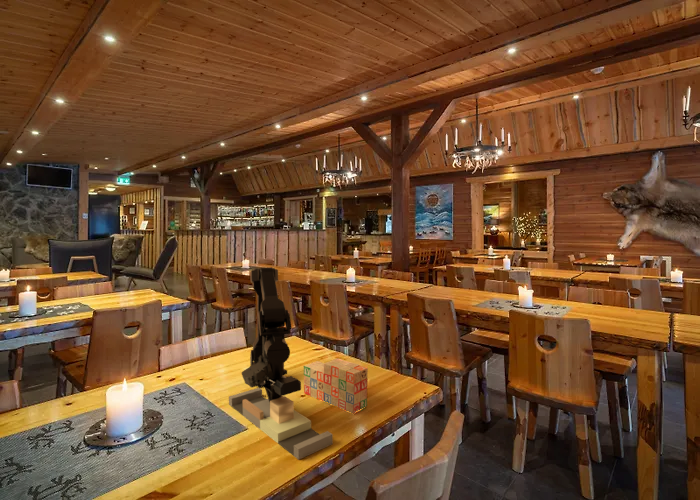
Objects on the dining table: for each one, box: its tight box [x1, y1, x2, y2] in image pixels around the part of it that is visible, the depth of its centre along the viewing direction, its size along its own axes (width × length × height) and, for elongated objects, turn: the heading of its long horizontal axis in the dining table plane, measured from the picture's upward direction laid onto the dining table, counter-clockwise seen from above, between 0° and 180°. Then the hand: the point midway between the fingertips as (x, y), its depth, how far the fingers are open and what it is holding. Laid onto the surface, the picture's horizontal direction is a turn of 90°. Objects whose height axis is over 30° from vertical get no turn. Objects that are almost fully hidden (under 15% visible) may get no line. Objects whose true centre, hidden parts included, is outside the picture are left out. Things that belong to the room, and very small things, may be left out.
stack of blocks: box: [303, 357, 369, 415], centre depth 122 cm, size 21×6×12 cm, turn 49°
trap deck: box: [228, 387, 334, 460], centre depth 108 cm, size 10×37×4 cm, turn 41°
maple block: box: [270, 395, 295, 423], centre depth 106 cm, size 4×4×4 cm
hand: (273, 407), depth 109 cm, fingers closed
